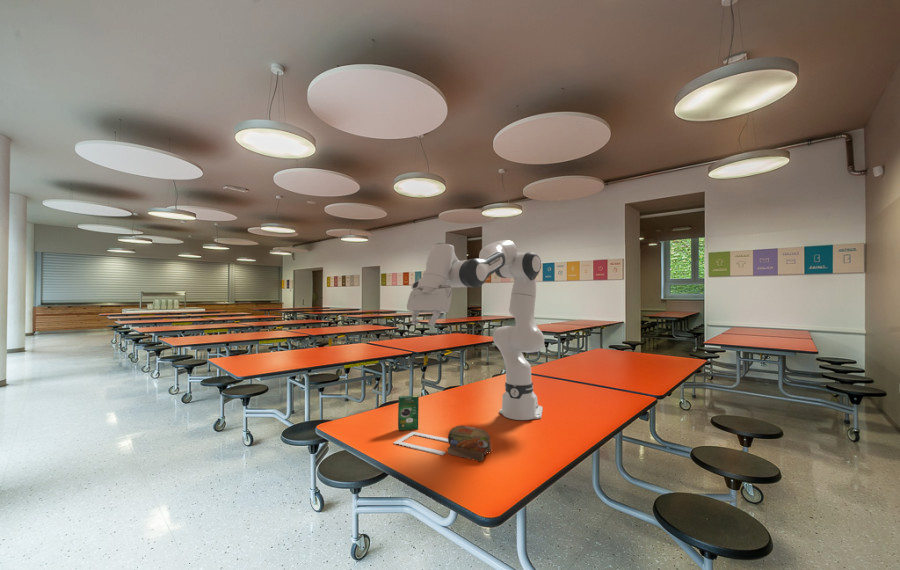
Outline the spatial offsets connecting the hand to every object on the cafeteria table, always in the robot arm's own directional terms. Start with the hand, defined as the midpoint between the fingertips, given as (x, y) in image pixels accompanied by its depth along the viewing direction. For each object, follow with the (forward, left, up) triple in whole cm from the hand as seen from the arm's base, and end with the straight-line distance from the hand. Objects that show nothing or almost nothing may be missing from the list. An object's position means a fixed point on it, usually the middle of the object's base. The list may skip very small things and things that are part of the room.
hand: (422, 324), depth 115 cm
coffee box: (-17, -19, -43) cm, 50 cm away
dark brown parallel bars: (-9, +12, -43) cm, 46 cm away
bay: (-9, -5, -43) cm, 44 cm away
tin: (-9, +12, -43) cm, 46 cm away
